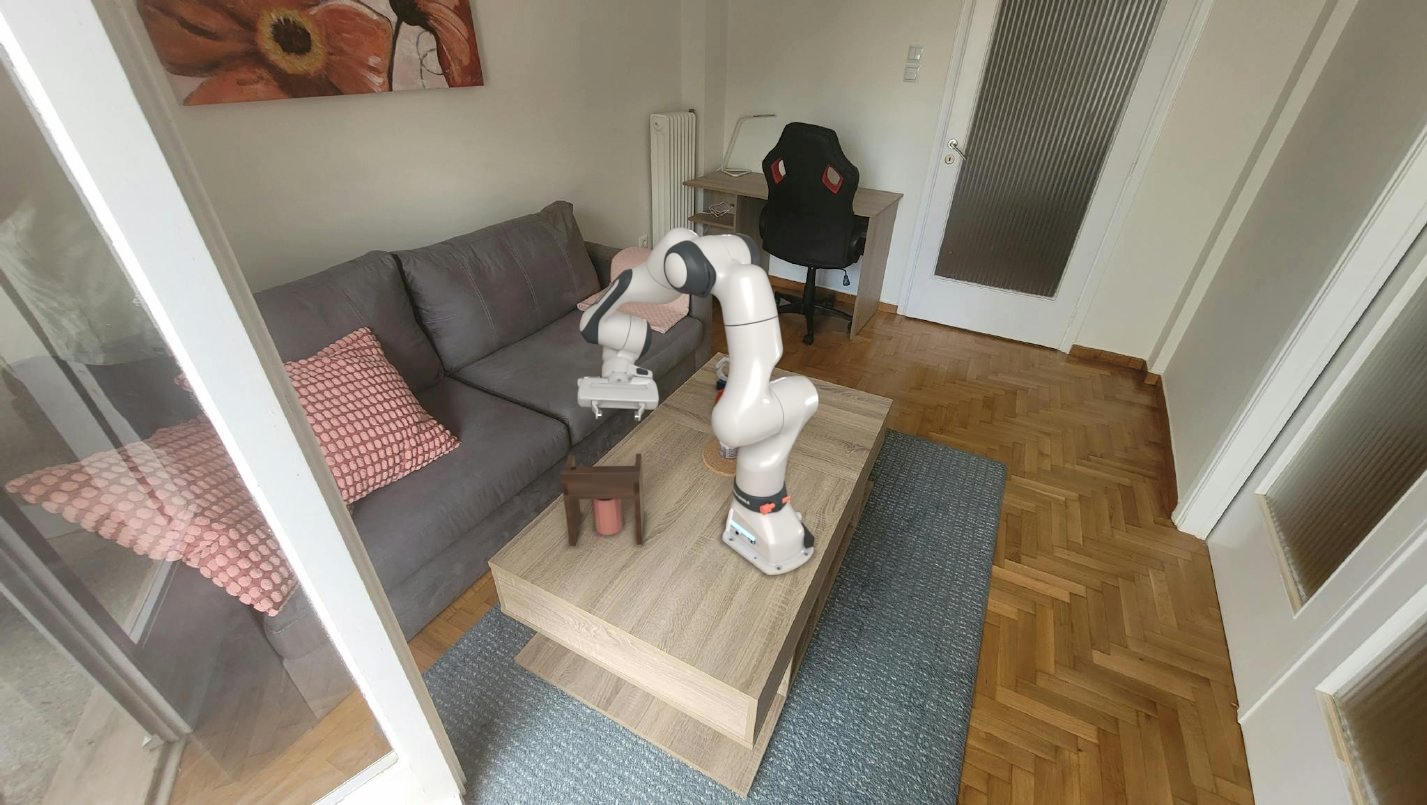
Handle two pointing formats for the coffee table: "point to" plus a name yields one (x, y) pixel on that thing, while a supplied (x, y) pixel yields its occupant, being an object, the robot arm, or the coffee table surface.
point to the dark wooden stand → (601, 490)
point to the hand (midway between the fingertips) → (618, 418)
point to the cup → (607, 515)
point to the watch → (722, 381)
